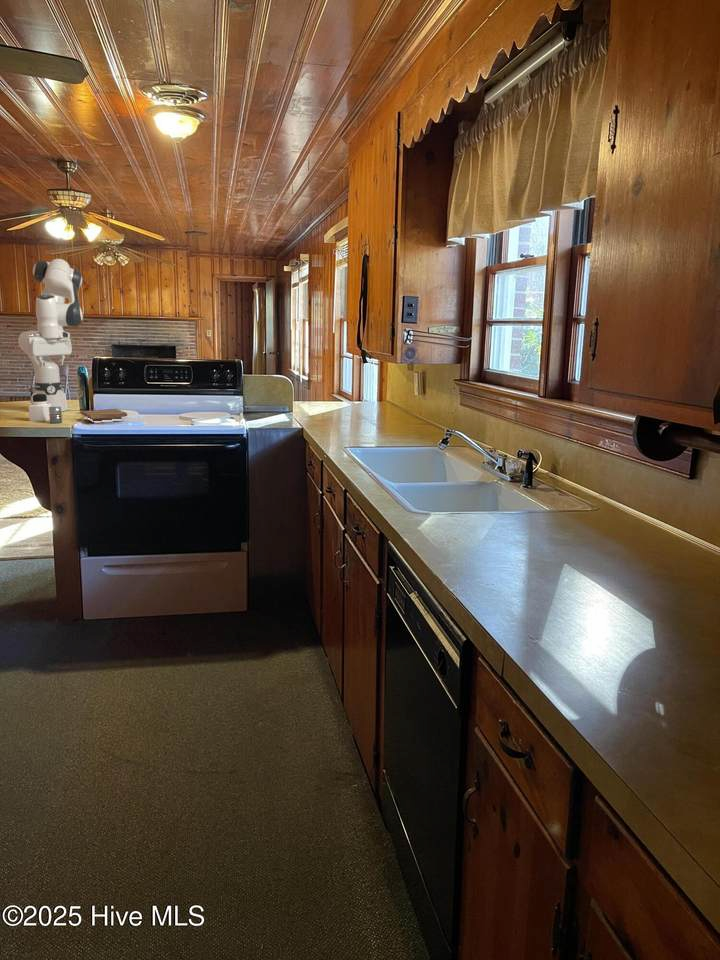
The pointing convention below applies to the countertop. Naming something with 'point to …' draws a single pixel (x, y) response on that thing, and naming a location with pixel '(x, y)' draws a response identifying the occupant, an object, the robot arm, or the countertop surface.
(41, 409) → the medicine bottle
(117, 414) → the walnut stand
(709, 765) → the countertop surface
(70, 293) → the robot arm
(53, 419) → the grey metal cylinder
